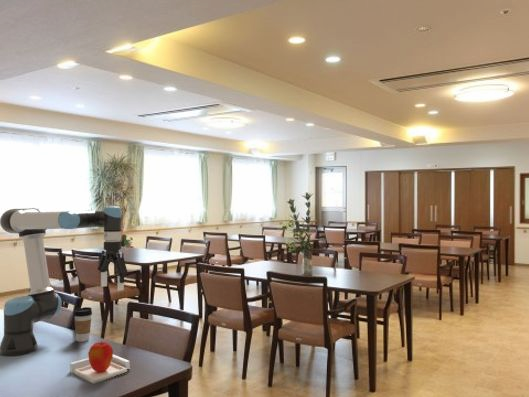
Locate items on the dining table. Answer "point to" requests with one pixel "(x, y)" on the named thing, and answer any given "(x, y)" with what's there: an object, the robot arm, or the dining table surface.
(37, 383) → the dining table surface
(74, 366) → the pen walls
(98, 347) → the apple
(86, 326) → the coffee cup
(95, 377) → the dish
